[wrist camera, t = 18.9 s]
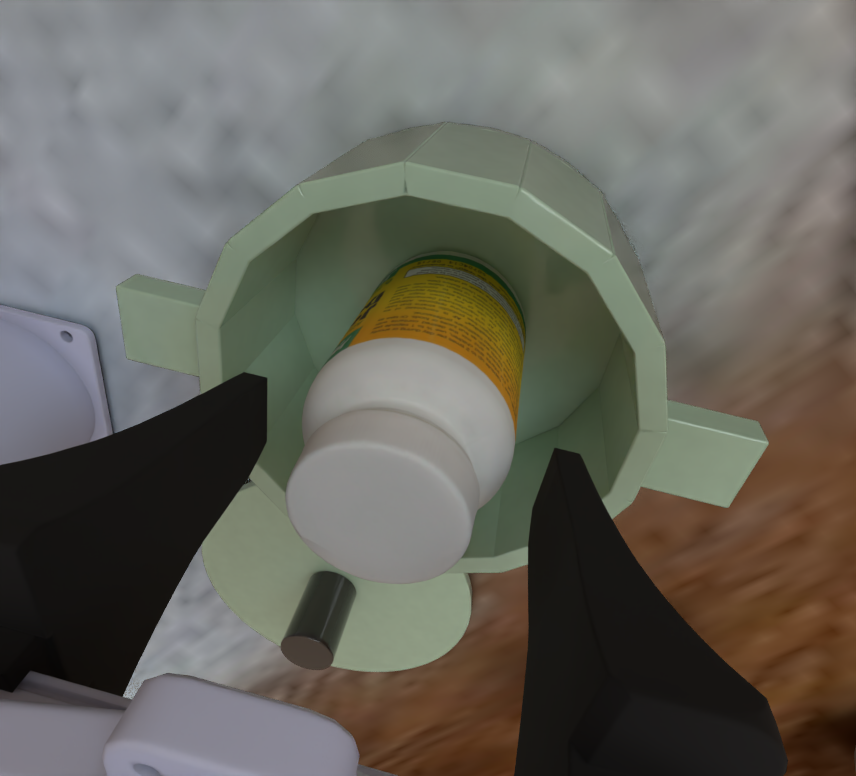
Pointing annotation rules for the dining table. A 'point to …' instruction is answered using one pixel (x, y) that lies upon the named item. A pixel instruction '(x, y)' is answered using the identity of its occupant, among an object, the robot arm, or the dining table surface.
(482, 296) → the supplement bottle
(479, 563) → the pot
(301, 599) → the lid
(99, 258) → the dining table surface
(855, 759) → the ceramic sculpture
